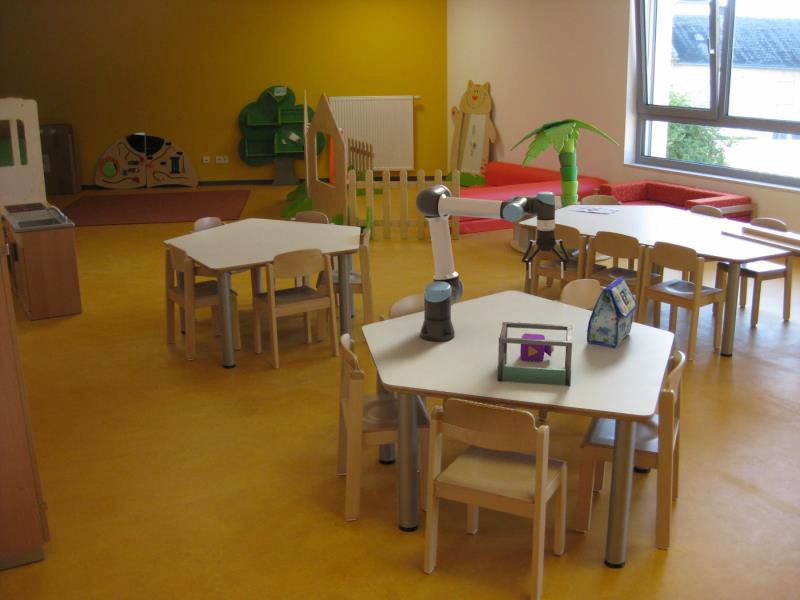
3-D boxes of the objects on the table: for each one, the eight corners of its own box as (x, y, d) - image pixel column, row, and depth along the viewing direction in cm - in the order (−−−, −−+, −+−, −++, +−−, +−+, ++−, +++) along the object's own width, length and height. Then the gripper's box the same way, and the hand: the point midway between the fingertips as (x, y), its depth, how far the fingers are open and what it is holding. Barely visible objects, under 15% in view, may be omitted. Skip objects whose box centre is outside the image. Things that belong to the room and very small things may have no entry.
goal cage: (497, 381, 327) (498, 338, 322) (501, 362, 346) (502, 321, 341) (570, 386, 322) (572, 342, 317) (570, 366, 341) (572, 325, 336)
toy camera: (555, 363, 345) (556, 339, 342) (521, 363, 345) (521, 339, 343) (550, 353, 356) (551, 331, 353) (517, 354, 356) (518, 331, 353)
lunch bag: (622, 350, 359) (627, 290, 351) (584, 344, 367) (587, 285, 359) (636, 334, 377) (640, 277, 370) (599, 329, 385) (602, 273, 378)
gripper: (515, 231, 359) (516, 280, 364) (576, 230, 355) (576, 279, 361) (516, 227, 366) (516, 275, 372) (575, 226, 362) (575, 275, 368)
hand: (546, 277), depth 366 cm, fingers open, 13 cm apart
